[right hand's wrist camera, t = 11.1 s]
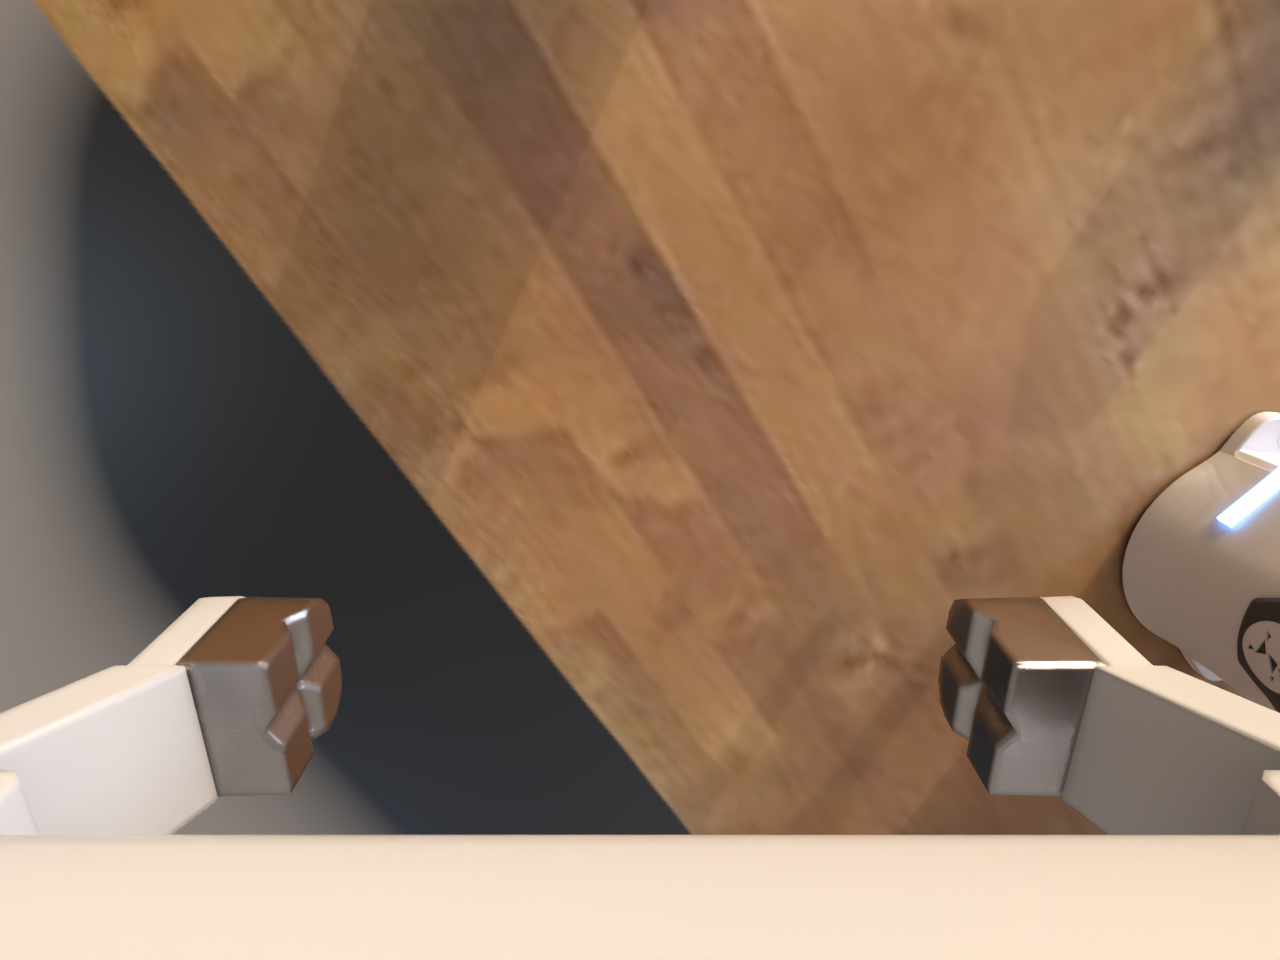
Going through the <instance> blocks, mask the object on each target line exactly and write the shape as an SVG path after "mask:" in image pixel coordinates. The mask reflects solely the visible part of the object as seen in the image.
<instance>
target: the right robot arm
mask: <svg viewBox="0 0 1280 960" xmlns="http://www.w3.org/2000/svg"><path fill="white" fill-rule="evenodd" d="M1122 581H1123V589H1124V594H1125V597H1126V600H1127V603H1128V605H1129V607H1130V609H1131V611H1132V612H1133V614H1134V615H1135V617H1136V618H1137V619H1138V621H1139V622H1140V623H1141V624H1142V625H1143V626H1144V627H1145V628H1147V629H1148V630H1149V631H1150V632H1152V633H1153V634H1155V635H1156V636H1158V637H1160V638H1162V639H1164V640H1166V641H1167V642H1169V643H1171V644H1172V645H1174V646H1176V647H1177V648H1179V649H1180V651H1181V652H1182V654H1183V656H1184V657H1185V659H1186V661H1187V662H1188V664H1189V665H1190V666H1191V667H1192V668H1193V670H1195V671H1196V672H1197V673H1199V674H1200V675H1202V676H1203V677H1205V678H1206V679H1208V680H1211V681H1222V680H1223V681H1225V682H1226V683H1228V684H1229V685H1231V686H1232V687H1233V688H1235V689H1236V690H1238V691H1239V692H1241V693H1242V694H1244V695H1245V696H1246V697H1248V698H1249V699H1251V700H1252V701H1254V702H1255V703H1254V702H1252V701H1249V700H1247V699H1245V698H1242V697H1240V696H1237V695H1235V694H1233V693H1230V692H1228V691H1225V690H1223V689H1221V688H1218V687H1216V686H1213V685H1211V684H1209V683H1206V682H1204V681H1201V680H1199V679H1197V678H1194V677H1192V676H1189V675H1187V674H1185V673H1182V672H1180V671H1177V670H1175V669H1173V668H1170V667H1168V666H1153V665H1152V664H1151V663H1150V662H1149V661H1148V660H1146V659H1145V658H1144V657H1143V656H1142V655H1141V654H1140V653H1139V652H1138V651H1137V650H1136V649H1135V648H1134V647H1133V646H1131V645H1130V644H1129V643H1128V642H1127V641H1126V640H1125V639H1124V638H1123V637H1122V636H1121V635H1120V634H1119V633H1118V632H1116V631H1115V630H1114V629H1113V628H1112V627H1111V626H1110V625H1109V624H1108V623H1107V622H1106V621H1105V620H1104V619H1103V618H1101V617H1100V616H1099V615H1098V614H1097V613H1096V612H1095V611H1094V610H1093V609H1092V608H1091V607H1090V606H1089V605H1087V604H1086V603H1085V602H1084V601H1083V600H1082V599H1079V598H1076V597H1073V596H1058V597H1017V598H976V599H959V600H954V602H953V604H952V607H951V609H950V611H949V615H948V621H947V626H946V629H947V631H948V632H949V634H950V635H951V637H952V638H953V640H954V641H955V644H954V645H953V646H952V647H951V648H950V649H949V650H948V651H947V653H946V654H945V655H944V656H943V657H942V658H941V663H940V671H939V679H938V682H939V693H940V702H941V705H942V708H943V712H944V715H945V717H946V719H947V721H948V723H949V725H950V727H951V728H952V730H953V731H954V732H956V733H958V734H959V735H961V736H962V737H964V738H965V739H967V740H969V745H968V750H967V757H968V758H969V760H970V762H971V763H972V765H973V767H974V769H975V770H976V772H977V774H978V775H979V777H980V779H981V781H982V782H983V784H984V786H985V787H986V789H987V791H988V793H989V794H994V795H1031V796H1062V799H1061V800H1063V801H1064V802H1065V803H1067V804H1068V805H1069V806H1071V807H1072V808H1073V809H1075V810H1076V811H1077V812H1079V813H1080V814H1081V815H1083V816H1084V817H1085V818H1087V819H1088V820H1089V821H1090V822H1092V823H1093V824H1094V825H1096V826H1097V827H1098V828H1100V829H1101V830H1102V831H1104V832H1105V833H1106V834H1108V835H173V834H174V833H175V832H177V831H178V830H179V829H181V828H182V827H183V826H184V825H186V824H187V823H188V822H190V821H191V820H192V819H194V818H195V817H196V816H198V815H199V814H200V813H202V812H203V811H204V810H206V809H207V808H208V807H210V806H211V805H212V804H214V803H215V802H216V801H217V800H218V796H248V795H284V794H291V793H292V791H293V789H294V788H295V786H296V784H297V782H298V781H299V779H300V777H301V775H302V774H303V772H304V770H305V768H306V767H307V765H308V763H309V762H310V760H311V758H312V756H313V751H312V745H311V740H313V739H314V738H316V737H318V736H319V735H321V734H322V733H324V732H325V731H327V730H328V728H329V726H330V725H331V723H332V721H333V719H334V717H335V715H336V712H337V708H338V704H339V699H340V695H341V669H340V663H339V658H338V657H337V656H336V655H335V654H334V653H333V651H331V649H330V648H329V647H328V646H327V645H326V644H325V641H326V640H327V638H328V637H329V635H330V634H331V632H332V631H333V629H334V627H333V622H332V617H331V612H330V607H329V605H328V604H327V603H326V602H325V601H324V600H323V599H322V598H278V597H243V596H228V597H206V598H199V599H198V600H197V601H196V602H195V603H194V604H193V605H192V606H191V607H190V608H189V609H187V610H186V611H185V612H184V613H183V614H182V615H181V616H180V617H179V618H178V619H177V620H176V621H174V622H173V623H172V624H171V625H170V626H169V627H168V628H167V629H166V630H165V631H164V632H163V633H162V634H161V635H159V636H158V637H157V638H156V639H155V640H154V641H153V642H152V643H151V644H150V645H149V646H148V647H147V648H145V649H144V650H143V651H142V652H141V653H140V654H139V655H138V656H137V657H136V658H135V659H134V660H133V661H131V662H130V663H129V664H128V665H127V666H112V667H110V668H107V669H105V670H103V671H100V672H98V673H95V674H93V675H90V676H88V677H86V678H83V679H81V680H79V681H76V682H74V683H71V684H69V685H66V686H64V687H62V688H59V689H57V690H54V691H52V692H50V693H47V694H45V695H42V696H40V697H38V698H35V699H33V700H30V701H28V702H25V703H23V704H21V705H18V706H16V707H14V708H11V709H9V710H6V711H4V712H1V713H0V960H1280V413H1278V412H1261V413H1257V414H1255V415H1253V416H1252V417H1250V418H1249V419H1248V420H1246V421H1245V422H1244V423H1243V424H1242V425H1241V426H1240V427H1239V428H1238V429H1237V430H1236V431H1235V432H1234V434H1233V435H1232V436H1231V437H1230V438H1229V439H1228V440H1227V442H1226V443H1225V444H1224V445H1223V447H1222V448H1221V449H1220V450H1219V451H1218V452H1217V453H1216V454H1214V455H1213V456H1212V457H1210V458H1209V459H1207V460H1206V461H1204V462H1203V463H1201V464H1200V465H1198V466H1196V467H1195V468H1193V469H1192V470H1190V471H1188V472H1187V473H1185V474H1184V475H1182V476H1181V477H1180V478H1178V479H1177V480H1176V481H1174V482H1173V483H1172V484H1171V485H1170V486H1168V487H1167V488H1166V489H1165V490H1164V491H1163V492H1162V493H1161V494H1160V495H1159V496H1158V497H1157V498H1156V499H1155V500H1154V501H1153V503H1152V504H1151V505H1150V506H1149V507H1148V509H1147V510H1146V511H1145V513H1144V514H1143V516H1142V517H1141V518H1140V520H1139V522H1138V523H1137V525H1136V527H1135V529H1134V531H1133V533H1132V535H1131V537H1130V540H1129V542H1128V545H1127V548H1126V552H1125V556H1124V561H1123V568H1122Z"/></svg>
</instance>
